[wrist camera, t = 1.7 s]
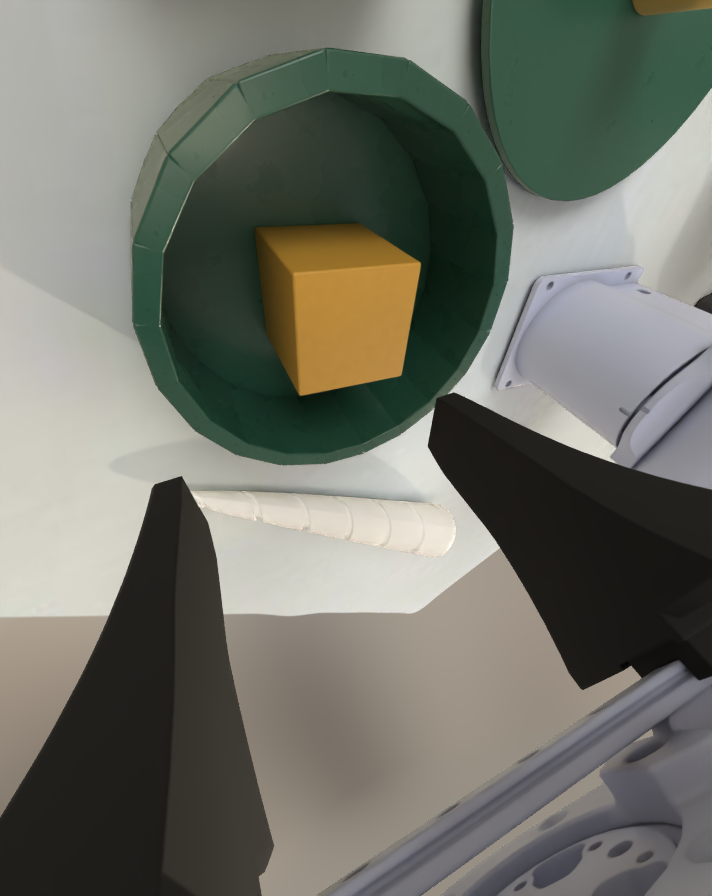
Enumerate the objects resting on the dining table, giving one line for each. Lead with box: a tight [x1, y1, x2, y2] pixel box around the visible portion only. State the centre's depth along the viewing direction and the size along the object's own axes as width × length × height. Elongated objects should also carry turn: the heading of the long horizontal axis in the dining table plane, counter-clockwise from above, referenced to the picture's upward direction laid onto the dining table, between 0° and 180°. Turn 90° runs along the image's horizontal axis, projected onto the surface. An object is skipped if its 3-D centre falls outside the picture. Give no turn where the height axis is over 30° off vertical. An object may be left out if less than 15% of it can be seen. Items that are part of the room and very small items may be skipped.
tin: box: [131, 48, 514, 465], centre depth 15 cm, size 13×13×5 cm
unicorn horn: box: [190, 490, 456, 557], centre depth 27 cm, size 5×24×5 cm, turn 51°
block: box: [255, 223, 421, 396], centre depth 14 cm, size 4×4×5 cm
